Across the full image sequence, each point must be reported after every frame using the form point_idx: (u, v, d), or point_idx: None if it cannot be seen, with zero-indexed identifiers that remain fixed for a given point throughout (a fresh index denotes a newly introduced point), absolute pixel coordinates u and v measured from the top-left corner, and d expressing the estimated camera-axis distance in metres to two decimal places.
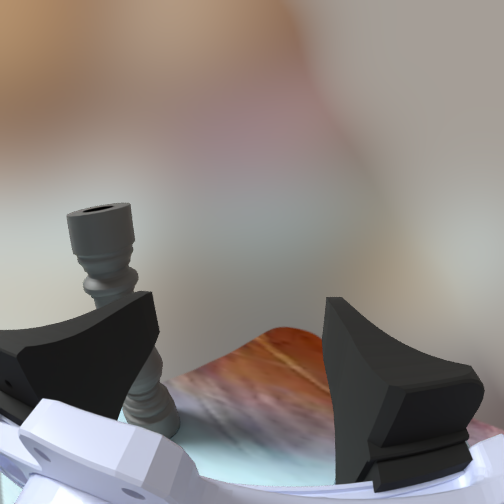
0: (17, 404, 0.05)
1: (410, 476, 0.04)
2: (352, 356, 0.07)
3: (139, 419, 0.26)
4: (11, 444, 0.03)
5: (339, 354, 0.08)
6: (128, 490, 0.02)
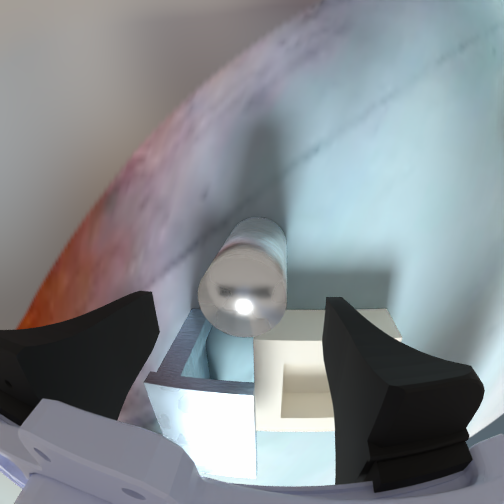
0: (17, 404, 0.05)
1: (410, 476, 0.04)
2: (352, 356, 0.07)
3: None
4: (11, 444, 0.03)
5: (340, 354, 0.08)
6: (128, 490, 0.02)
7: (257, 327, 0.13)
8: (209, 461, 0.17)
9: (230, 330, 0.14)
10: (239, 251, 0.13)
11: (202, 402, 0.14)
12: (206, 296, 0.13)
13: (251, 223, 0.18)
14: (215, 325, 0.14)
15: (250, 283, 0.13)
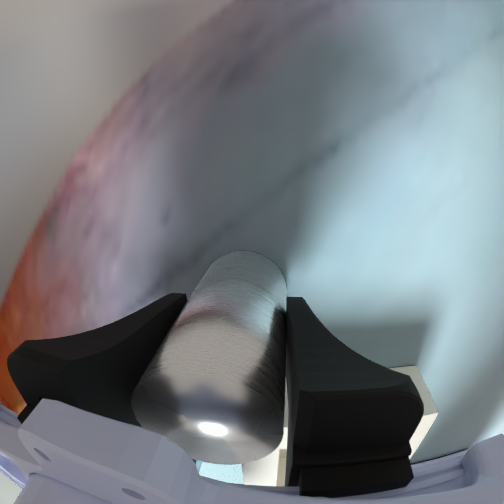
0: None
1: (337, 487, 0.04)
2: (294, 357, 0.07)
3: None
4: (11, 444, 0.03)
5: (290, 355, 0.09)
6: (128, 490, 0.02)
7: (234, 456, 0.07)
8: None
9: (192, 455, 0.07)
10: (195, 350, 0.07)
11: None
12: (146, 415, 0.07)
13: (231, 266, 0.12)
14: None
15: (217, 409, 0.06)
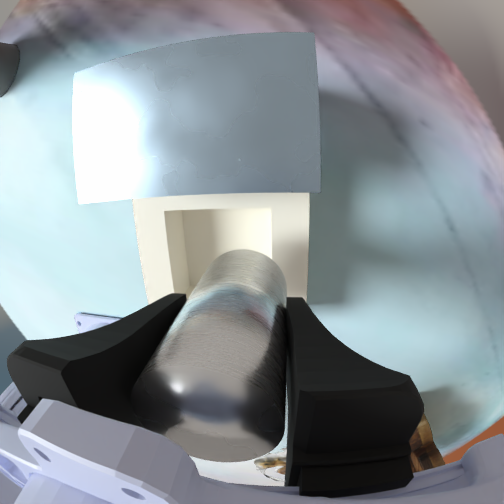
0: None
1: (337, 487, 0.04)
2: (293, 357, 0.07)
3: None
4: (11, 444, 0.03)
5: (290, 355, 0.09)
6: (128, 490, 0.02)
7: (234, 454, 0.07)
8: (113, 121, 0.10)
9: (192, 452, 0.07)
10: (195, 345, 0.07)
11: (292, 115, 0.09)
12: (146, 411, 0.07)
13: (232, 263, 0.12)
14: None
15: (218, 405, 0.06)
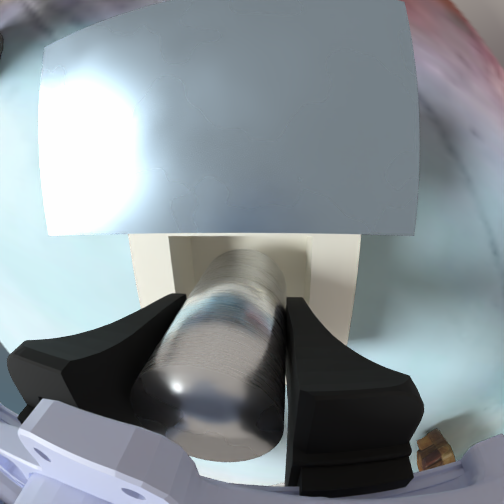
0: None
1: (337, 487, 0.04)
2: (293, 357, 0.07)
3: None
4: (11, 444, 0.03)
5: (290, 355, 0.09)
6: (128, 490, 0.02)
7: (234, 454, 0.07)
8: (94, 113, 0.06)
9: (191, 452, 0.07)
10: (194, 344, 0.07)
11: (383, 115, 0.05)
12: (145, 411, 0.07)
13: (231, 263, 0.12)
14: None
15: (216, 405, 0.06)
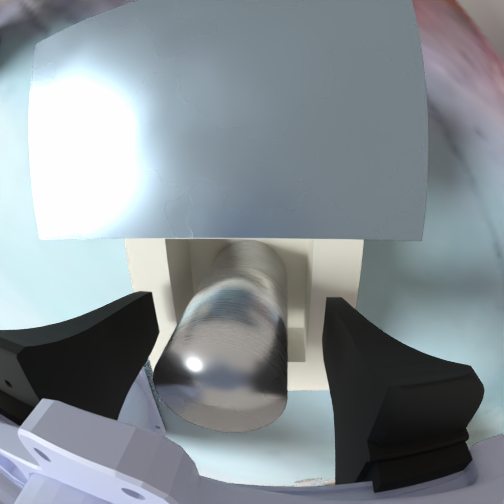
0: (17, 404, 0.05)
1: (410, 476, 0.04)
2: (352, 356, 0.07)
3: None
4: (11, 444, 0.03)
5: (339, 355, 0.08)
6: (128, 490, 0.02)
7: (243, 424, 0.08)
8: (84, 111, 0.06)
9: (205, 424, 0.08)
10: (211, 325, 0.08)
11: (390, 113, 0.05)
12: (166, 386, 0.08)
13: (237, 254, 0.13)
14: (184, 417, 0.08)
15: (230, 377, 0.08)
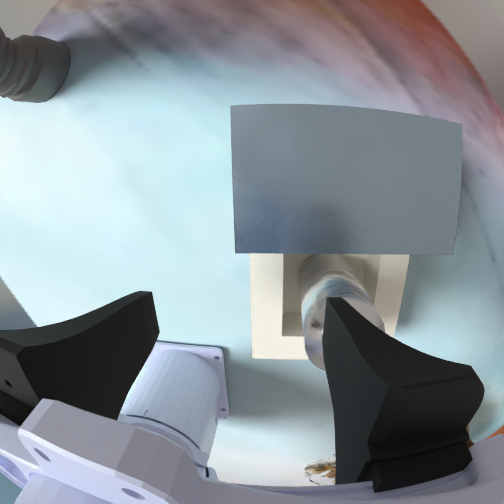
0: (17, 404, 0.05)
1: (410, 476, 0.04)
2: (352, 356, 0.07)
3: (18, 93, 0.16)
4: (11, 444, 0.03)
5: (339, 354, 0.08)
6: (128, 490, 0.02)
7: None
8: (289, 174, 0.11)
9: None
10: (344, 297, 0.13)
11: (444, 194, 0.11)
12: (313, 340, 0.13)
13: (328, 259, 0.18)
14: (317, 364, 0.14)
15: None
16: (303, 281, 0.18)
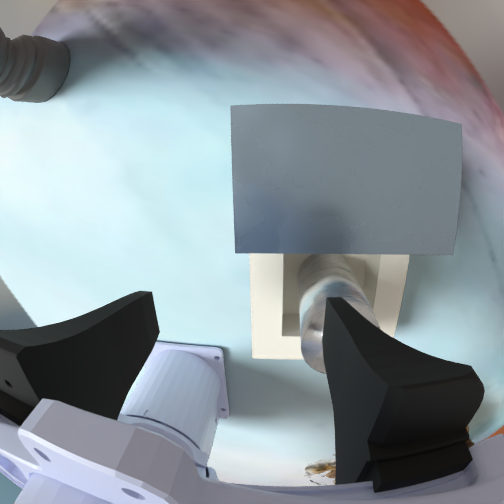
0: (17, 404, 0.05)
1: (410, 476, 0.04)
2: (352, 356, 0.07)
3: (18, 93, 0.16)
4: (11, 444, 0.03)
5: (339, 354, 0.08)
6: (128, 490, 0.02)
7: None
8: (289, 174, 0.11)
9: None
10: None
11: (444, 194, 0.11)
12: (309, 343, 0.13)
13: (327, 260, 0.18)
14: (313, 367, 0.14)
15: None
16: (302, 282, 0.18)
